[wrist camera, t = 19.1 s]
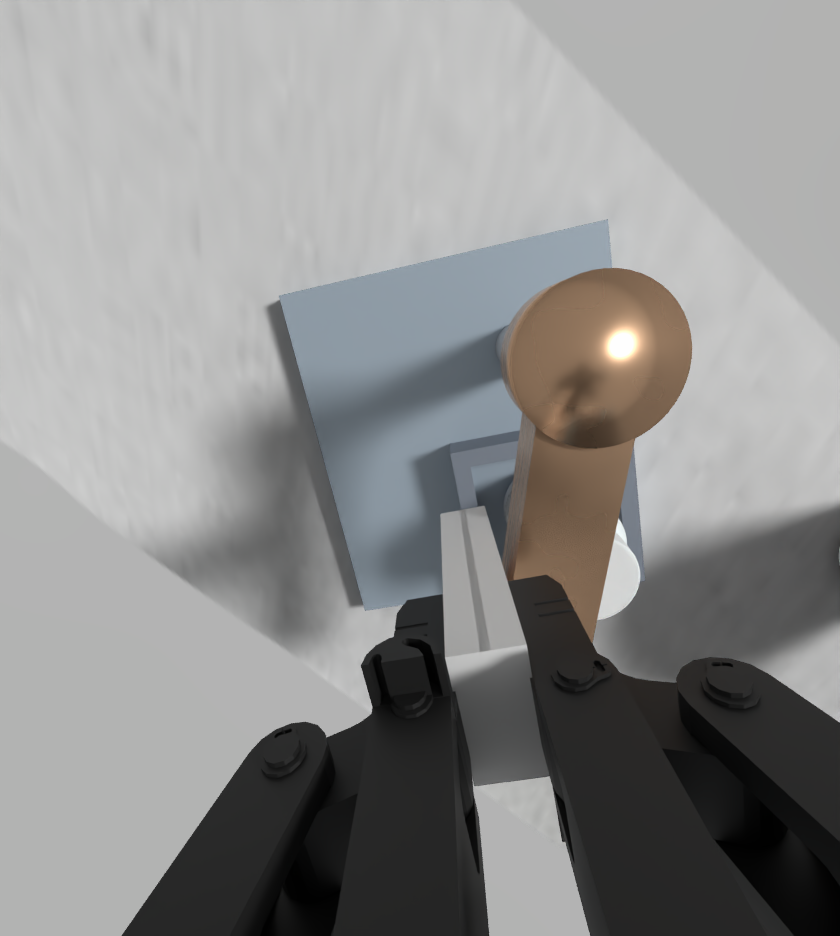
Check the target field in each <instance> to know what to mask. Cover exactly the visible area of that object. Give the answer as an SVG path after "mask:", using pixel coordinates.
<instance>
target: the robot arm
mask: <svg viewBox="0 0 840 936" xmlns="http://www.w3.org/2000/svg"><path fill="white" fill-rule="evenodd" d="M440 518H441V549H442V580H443V594H439V595H434V596H428V597H422V598H416V599H410V600H407V601H406V602H405V604H404V605H403V606H402V608H401V609H400V610H399V612H398V613H397V618H396V625H395V630H396V631H395V633H394V637H393V638H389V639H387V640H385V641H384V642H382V643H380V644H378V645H376V646H375V647H374V648H373V649H372V650H371V651H370V652H369V653H368V654H367V655H366V657H365V659H364V661H363V663H362V665H361V668H362V671H363V675H364V678H365V682H366V685H367V689H368V692H369V696H370V699H371V703H372V706H373V709H372V714H371V715H370V716H368V717H367V718H366V719H364V720H363V721H362V722H360V723H358V724H356V725H354V726H353V727H351V728H348V729H346V730H344V731H341V732H339V733H337V734H334V735H332V736H330V737H327V738H326V735H325V733H324V732H323V731H322V729H321V728H320V727H319V726H318V725H315V724H311V723H308V722H300V723H291V724H289V725H286V726H284V727H281V728H279V729H276V730H275V731H273V732H272V733H270V734H269V735H268V736H266V737H265V738H263V739H262V740H261V741H260V742H259V743H258V744H257V745H256V746H255V747H254V748H253V749H252V750H251V752H250V753H249V754H248V756H247V757H246V758H245V760H244V761H243V763H242V764H241V765H240V767H239V769H238V770H237V771H236V773H235V774H234V775H233V777H232V778H231V780H230V781H229V783H228V784H227V786H226V787H225V788H224V790H223V791H222V793H221V794H220V796H219V797H218V799H217V800H216V801H215V803H214V804H213V806H212V807H211V808H210V810H209V811H208V813H207V814H206V816H205V817H204V819H203V820H202V821H201V823H200V824H199V826H198V827H197V829H196V830H195V831H194V833H193V834H192V836H191V837H190V839H189V840H188V841H187V843H186V844H185V846H184V847H183V849H182V850H181V851H180V853H179V854H178V856H177V857H176V859H175V860H174V861H173V863H172V864H171V866H170V867H169V869H168V870H167V871H166V873H165V874H164V876H163V877H162V879H161V880H160V881H159V883H158V884H157V886H156V887H155V889H154V890H153V891H152V893H151V894H150V896H149V897H148V899H147V900H146V902H145V903H144V904H143V906H142V907H141V909H140V910H139V912H138V913H137V914H136V916H135V917H134V919H133V920H132V922H131V923H130V924H129V926H128V927H127V929H126V930H125V932H124V933H123V934H122V936H489V928H488V916H487V905H486V893H485V882H484V871H483V861H482V860H483V859H482V848H481V838H480V826H479V816H478V812H477V807H476V803H475V799H474V794H473V782H474V786H480V785H487V784H495V783H502V782H511V781H518V780H525V779H533V778H540V777H547V776H550V779H551V782H552V785H553V791H554V797H555V803H556V808H557V814H558V820H559V826H560V832H561V837H562V842H566V846H567V849H568V853H569V856H570V861H571V864H572V868H573V872H574V876H575V880H576V883H577V887H578V891H579V895H580V898H581V902H582V906H583V910H584V914H585V917H586V921H587V925H588V929H589V932H590V936H840V723H839V722H838V721H836V720H835V719H833V718H832V717H831V716H829V715H828V714H826V713H825V712H823V711H822V710H820V709H819V708H817V707H816V706H814V705H813V704H812V703H810V702H809V701H807V700H806V699H804V698H803V697H801V696H800V695H798V694H797V693H796V692H794V691H793V690H791V689H790V688H788V687H787V686H785V685H784V684H782V683H781V682H779V681H778V680H777V679H775V678H774V677H772V676H771V675H769V674H768V673H766V672H764V671H762V670H760V669H758V668H756V667H754V666H752V665H750V664H747V663H744V662H740V661H736V660H733V659H727V658H711V657H710V658H704V659H699V660H694V661H692V662H690V663H689V664H687V665H685V666H684V667H682V668H681V670H680V672H679V674H678V676H677V683H670V682H658V681H648V680H642V679H636V678H633V677H630V676H627V675H624V674H621V673H619V671H618V670H617V668H616V667H615V666H614V665H613V664H612V663H611V662H610V661H609V659H607V658H605V657H603V656H601V655H599V654H597V652H596V650H595V648H594V646H593V644H592V642H591V640H590V638H589V636H588V635H587V633H586V631H585V629H584V627H583V625H582V623H581V621H580V619H579V617H578V615H577V613H576V612H575V611H574V608H573V606H572V604H571V602H570V600H569V599H568V596H567V594H566V592H565V590H564V589H563V587H562V585H561V584H560V583H559V582H557V581H556V580H554V579H553V578H551V577H550V576H548V575H541V576H535V577H530V578H524V579H518V580H512V581H507V578H506V575H505V572H504V568H503V565H502V562H501V558H500V555H499V552H498V549H497V545H496V542H495V539H494V535H493V532H492V529H491V526H490V522H489V519H488V516H487V512H486V509H485V506H480V507H474V508H469V509H463V510H458V511H453V512H447V513H442V514H440ZM472 778H473V782H472Z"/></svg>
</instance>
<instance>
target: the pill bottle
mask: <svg viewBox="0 0 840 936" xmlns="http://www.w3.org/2000/svg"><path fill="white" fill-rule="evenodd" d="M512 484H513V482H512V483H511V484H510V486H509V488H508V490H507V492H506V494H505V497H504V503H503V510H504V517H505V520H506V523H507V521H508V513H509V506H510V499H511V491H512ZM639 583H640V568H639V564H638V561H637V559H636V557H635V555H634V554H633V552H632V551H631V550H630V548H629V547H628V546H627V538H626V533H625V530H624V527H623V525H622V523H621V521H620V520H619V518H618V523H617V527H616V532H615V537H614V542H613V546H612V551H611V556H610V561H609V566H608V570H607V575H606V580H605V585H604V590H603V594H602V599H601V604H600V609H599V613H598V618H597V620H602V619H606V618H609V617H611V616H613V615H615V614H617V613H618V612H620V611H621V610H623V609H624V608H625V607H626V606H627V605H628V604H629V603H630V602H631V601H632V599H633V598H634V596H635V594H636V592H637V590H638V587H639Z"/></svg>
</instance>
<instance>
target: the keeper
mask: <svg viewBox="0 0 840 936" xmlns="http://www.w3.org/2000/svg"><path fill="white" fill-rule="evenodd" d="M691 359H692V341H691V333H690V329H689V325H688V321H687V319H686V316H685V314H684V312H683V310H682V308H681V306H680V305H679V303H678V301H677V300H676V299H675V298H674V296H673V295H672V294H671V293H670V292H669V291H668V290H667V289H666V288H665V287H664V286H663V285H661V284H660V283H658V282H657V281H655V280H654V279H652V278H650V277H648V276H646V275H644V274H642V273H639V272H635V271H632V270H627V269H620V268H602V269H595V270H590V271H587V272H583V273H580V274H577V275H575V276H573V277H570V278H568V279H565V280H563V281H561V282H558V283H556V284H553V285H551V286H549V287H546V288H545V289H543V290H541V291H540V292H538V293H537V294H535V295H534V296H533V297H531V298H530V299H529V300H528V301H527V302H526V303H525V304H524V305H523V306H522V307H521V308H520V309H519V311H518V312H517V313H516V314H515V316H514V318H513V319H512V321H511V322H510V324H509V327H508V329H507V331H506V333H505V336H504V340H503V343H502V349H501V358H500V364H501V374H502V379H503V382H504V385H505V388H506V390H507V392H508V394H509V396H510V398H511V399H512V401H513V402H514V404H515V405H516V406H517V407H518V408H519V409H520V411H521V412H522V418H521V425H520V433H519V440H518V447H517V455H516V462H515V469H514V477H513V484H512V491H511V499H510V506H509V513H508V521H507V528H506V535H505V543H504V550H503V557H502V565H503V568H504V572H505V575H506V578H507V581H512V580H518V579H524V578H530V577H535V576H541V575H548V576H550V577H551V578H553V579H554V580H556V581H557V582H559V583H560V584H561V585H562V587H563V589H564V590H565V592H566V594H567V596H568V599H569V600H570V602H571V604H572V606H573V608H574V611H575V612H576V613H577V615H578V617H579V619H580V621H581V623H582V625H583V627H584V629H585V631H586V633H587V635H588V636H589V638H590V640H591V642H593V637H594V633H595V628H596V623H597V618H598V613H599V609H600V604H601V599H602V594H603V590H604V585H605V580H606V575H607V570H608V566H609V561H610V556H611V551H612V546H613V542H614V537H615V532H616V527H617V523H618V518H619V513H620V508H621V503H622V499H623V494H624V489H625V484H626V480H627V475H628V470H629V465H630V460H631V456H632V451H633V446H634V441H635V438H636V437H638V436H640V435H642V434H643V433H645V432H646V431H648V430H650V429H651V428H652V427H653V426H655V425H656V424H657V423H658V422H659V421H660V420H661V419H662V418H663V417H664V416H665V415H666V414H667V413H668V412H669V410H670V409H671V408H672V406H673V405H674V404H675V402H676V401H677V399H678V397H679V396H680V394H681V392H682V390H683V387H684V385H685V383H686V380H687V377H688V374H689V370H690V364H691Z"/></svg>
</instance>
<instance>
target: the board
mask: <svg viewBox="0 0 840 936" xmlns="http://www.w3.org/2000/svg"><path fill="white" fill-rule="evenodd" d="M602 268H612V260H611V249H610V237H609V226H608V219H607V220H603V221H598V222H594V223H590V224H586V225H581V226H577V227H573V228H568V229H564V230H560V231H555V232H551V233H547V234H542V235H538V236H534V237H530V238H525V239H521V240H517V241H512V242H508V243H504V244H499V245H495V246H491V247H486V248H482V249H478V250H474V251H469V252H465V253H461V254H456V255H452V256H448V257H443V258H439V259H435V260H431V261H426V262H422V263H418V264H413V265H409V266H405V267H400V268H396V269H392V270H387V271H383V272H379V273H375V274H370V275H366V276H362V277H357V278H353V279H349V280H344V281H340V282H336V283H331V284H327V285H323V286H319V287H314V288H310V289H306V290H301V291H297V292H293V293H288V294H284V295H280V296H279V298H280V302H281V306H282V309H283V313H284V317H285V320H286V324H287V328H288V331H289V335H290V338H291V342H292V346H293V349H294V353H295V357H296V360H297V364H298V368H299V371H300V375H301V379H302V382H303V386H304V390H305V393H306V397H307V401H308V404H309V408H310V412H311V415H312V419H313V423H314V426H315V430H316V434H317V437H318V441H319V445H320V448H321V452H322V455H323V459H324V463H325V466H326V470H327V474H328V477H329V481H330V485H331V488H332V492H333V496H334V499H335V503H336V507H337V510H338V514H339V518H340V521H341V525H342V529H343V532H344V536H345V540H346V543H347V547H348V551H349V554H350V558H351V561H352V565H353V569H354V572H355V576H356V580H357V583H358V587H359V591H360V594H361V598H362V602H363V605H364V609H365V611H366V610H373V609H379V608H385V607H392V606H398V605H404V604H405V602H406V601H407V600H410V599H416V598H422V597H428V596H434V595H439V594H443V580H442V549H441V518H440V514H442V513H447V512H453V511H458V510H463V509H469V508H474V507H480V506H485V509H486V512H487V516H488V519H489V522H490V526H491V529H492V532H493V535H494V539H495V542H496V545H497V549H498V552H499V555H500V558H501V562H502V557H503V550H504V543H505V535H506V528H507V523H506V520H505V517H504V510H503V503H504V497H505V494H506V492H507V490H508V488H509V486H510V484H511V483H512V482H513V477H514V469H515V462H516V455H517V447H518V440H519V433H520V425H521V418H522V412H521V411H520V409H519V408H518V407H517V406H516V405H515V404H514V402H513V401H512V399H511V398H510V396H509V394H508V392H507V390H506V388H505V385H504V382H503V379H502V374H501V364H500V358H501V349H502V343H503V340H504V336H505V333H506V331H507V329H508V327H509V324H510V322H511V321H512V319H513V318H514V316H515V314H516V313H517V312H518V311H519V309H520V308H521V307H522V306H523V305H524V304H525V303H526V302H527V301H528V300H529V299H530V298H531V297H533V296H534V295H535V294H537V293H538V292H540V291H541V290H543V289H545V288H546V287H549V286H551V285H553V284H556V283H558V282H561V281H563V280H565V279H568V278H570V277H573V276H575V275H577V274H580V273H583V272H587V271H590V270H595V269H602ZM619 520H620V521H621V523H622V525H623V527H624V530H625V533H626V538H627V546H628V547H629V548H630V550H631V551H632V552H633V554H634V555H635V557H636V559H637V561H638V564H639V568H640V582H641V581H645V573H644V561H643V550H642V538H641V526H640V515H639V503H638V491H637V479H636V468H635V456H634V446H633V451H632V456H631V460H630V465H629V470H628V475H627V480H626V484H625V489H624V494H623V499H622V503H621V508H620V513H619Z"/></svg>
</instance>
